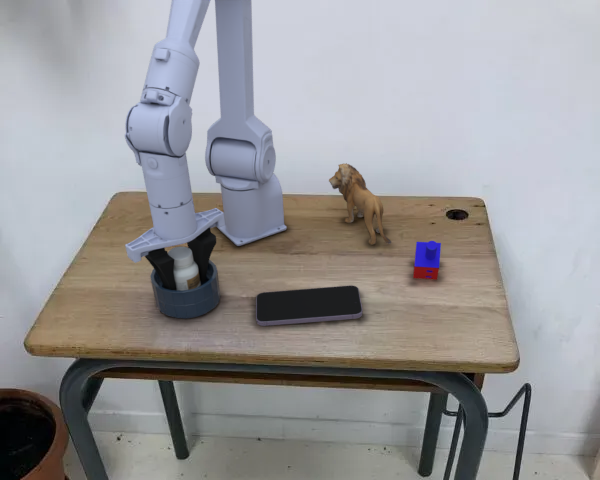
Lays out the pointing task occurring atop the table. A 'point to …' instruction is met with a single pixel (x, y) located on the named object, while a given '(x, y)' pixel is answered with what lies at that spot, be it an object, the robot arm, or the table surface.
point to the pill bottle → (185, 268)
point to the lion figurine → (359, 199)
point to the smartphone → (308, 305)
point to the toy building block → (427, 260)
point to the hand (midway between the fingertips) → (185, 285)
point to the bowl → (188, 296)
